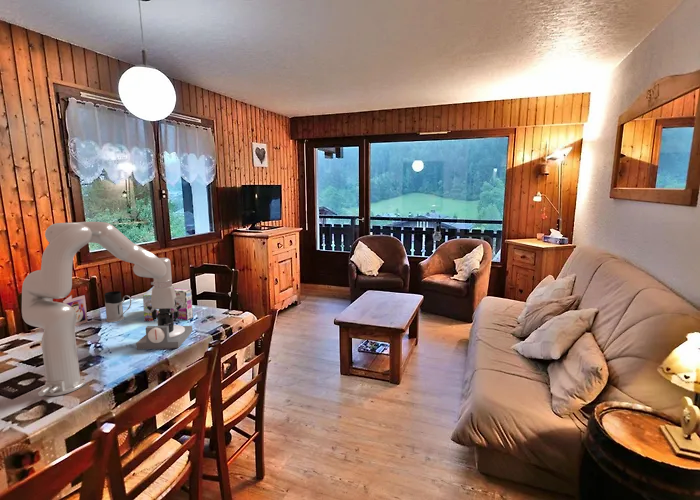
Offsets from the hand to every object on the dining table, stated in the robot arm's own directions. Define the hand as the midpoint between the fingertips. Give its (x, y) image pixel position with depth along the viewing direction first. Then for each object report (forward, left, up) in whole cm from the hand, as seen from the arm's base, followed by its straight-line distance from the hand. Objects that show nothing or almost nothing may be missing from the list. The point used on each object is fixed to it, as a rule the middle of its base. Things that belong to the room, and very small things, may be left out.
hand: (165, 319), depth 174 cm
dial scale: (-1, 0, -10) cm, 10 cm away
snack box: (+36, +20, -10) cm, 42 cm away
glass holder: (+30, +36, -10) cm, 48 cm away
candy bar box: (+30, +3, -10) cm, 32 cm away
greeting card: (+23, +56, -10) cm, 61 cm away
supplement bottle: (0, 0, -6) cm, 6 cm away
